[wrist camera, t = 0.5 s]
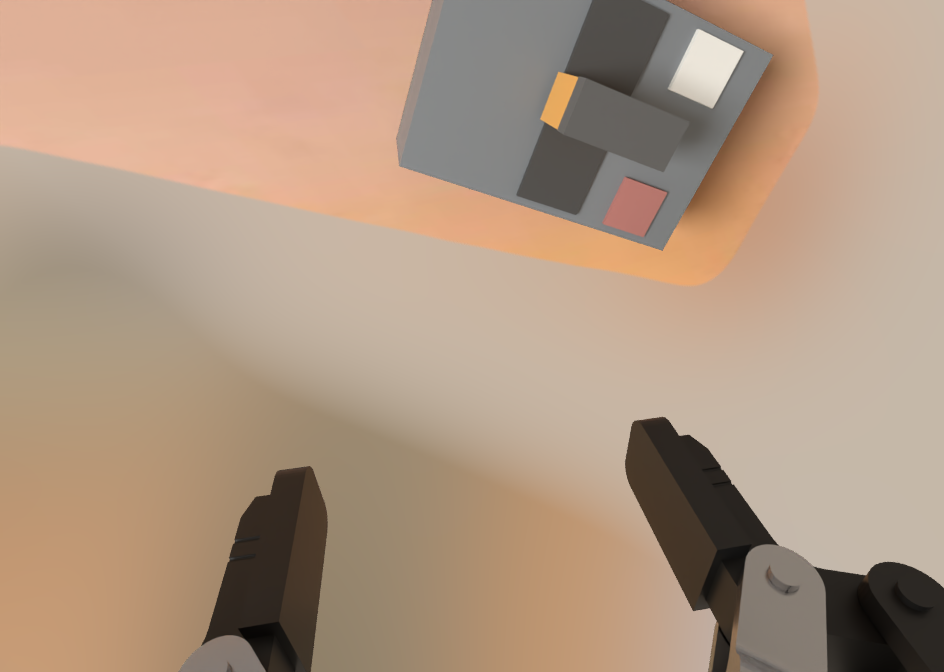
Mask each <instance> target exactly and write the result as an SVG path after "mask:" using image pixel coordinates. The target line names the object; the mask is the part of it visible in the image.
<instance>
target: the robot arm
mask: <svg viewBox="0 0 944 672" xmlns="http://www.w3.org/2000/svg"><path fill="white" fill-rule="evenodd" d="M625 468H626V475H627V479H628V482H629V484H630V486H631V489H632V490H633V492H634V494H635V496H636V498H637V500H638V502H639V504H640V506H641V508H642V510H643V512H644V514H645V516H646V518H647V520H648V522H649V524H650V526H651V528H652V530H653V532H654V534H655V536H656V538H657V540H658V542H659V544H660V546H661V548H662V550H663V552H664V554H665V556H666V558H667V560H668V562H669V564H670V566H671V568H672V570H673V572H674V574H675V576H676V578H677V580H678V582H679V584H680V586H681V588H682V590H683V592H684V594H685V596H686V598H687V600H688V602H689V604H690V606H691V608H692V610H693V611H696V610H702V609H707V608H710V609H711V611H712V613H713V615H714V616H715V618H716V620H717V622H716V625H715V629H714V636H713V643H712V649H711V656H710V663H709V669H708V672H944V588H943V587H942V586H941V585H940V584H939V583H937V582H936V581H935V580H934V579H932V578H931V577H929V576H928V575H926V574H924V573H923V572H921V571H919V570H917V569H915V568H913V567H910V566H907V565H904V564H900V563H895V562H883V563H879V564H876V565H874V566H873V567H872V568H871V569H870V571H869V572H868V574H867V575H866V576H865V575H859V574H852V573H846V572H838V571H832V570H826V569H821V568H817V567H813V566H812V565H811V564H810V563H809V562H808V561H807V560H806V559H804V558H803V557H802V556H800V555H798V554H797V553H795V552H794V551H792V550H789V549H787V548H785V547H781V546H779V545H778V544H777V543H776V542H775V541H774V540H773V538H772V537H771V536H770V534H769V533H768V531H767V530H766V529H765V527H764V526H763V524H762V523H761V522H760V520H759V519H758V518H757V516H756V515H755V513H754V512H753V511H752V509H751V508H750V507H749V505H748V504H747V502H746V501H745V500H744V498H743V497H742V495H741V494H740V493H739V491H738V490H737V488H736V487H735V486H734V485H732V484H731V480H730V479H729V478H728V476H727V475H726V473H725V472H724V470H721V466H720V465H719V464H718V462H717V461H716V459H715V458H714V457H713V455H712V454H711V453H710V451H709V450H708V449H707V448H706V447H705V446H703V445H702V444H701V443H699V442H698V441H697V440H695V439H694V438H693V437H691V436H690V435H684V436H679V435H678V433H677V432H676V430H675V429H674V428H673V426H672V425H671V423H670V422H669V420H667V419H666V418H665V417H659V418H652V419H645V420H638V421H634V422H633V424H632V427H631V432H630V438H629V443H628V450H627V455H626V460H625ZM327 523H328V522H327V511H326V507H325V503H324V500H323V497H322V494H321V491H320V489H319V486H318V483H317V480H316V477H315V474H314V471H313V469H312V468H311V467H310V466H308V467H301V468H293V469H286V470H279V471H277V473H276V475H275V478H274V482H273V486H272V490H271V494H270V495H267V496H259V497H256V498H255V499H254V500H253V501H252V503H251V504H250V506H249V507H248V508H247V510H246V511H245V513H244V514H243V515H242V517H241V519H240V522H239V526H238V529H237V533H236V536H235V544H233V546H232V550H231V553H230V557H229V558H230V561H229V562H228V564H227V567H226V571H225V574H224V577H223V581H222V584H221V588H220V591H219V595H218V598H217V602H216V605H215V609H214V612H213V615H212V619H211V622H210V626H209V629H208V632H207V635H206V637H205V640H204V642H203V643H202V645H201V647H199V648H198V649H197V650H196V651H195V652H194V653H192V655H191V656H190V657H189V658H188V659H187V660H186V661H185V663H184V664H183V665H182V667H181V669H180V670H179V672H311V664H312V656H313V648H314V647H313V646H314V639H315V630H316V622H317V614H318V605H319V597H320V588H321V580H322V571H323V563H324V554H325V546H326V538H327Z"/></svg>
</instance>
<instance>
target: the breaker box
mask: <svg viewBox="0 0 944 672" xmlns="http://www.w3.org/2000/svg"><path fill="white" fill-rule="evenodd" d="M772 57H773V55H772V54H770V53H768V52H766V51H764V50H763V49H761V48H759V47H757V46H755V45H753V44H751V43H749V42H747V41H745V40H743V39H741V38H739V37H737V36H735V35H733V34H731V33H729V32H727V31H725V30H723V29H721V28H719V27H717V26H715V25H713V24H711V23H709V22H708V21H706V20H704V19H702V18H700V17H698V16H696V15H694V14H692V13H690V12H688V11H686V10H684V9H682V8H680V7H678V6H676V5H674V4H672V3H670V2H668V1H666V0H432V3H431V7H430V11H429V15H428V19H427V23H426V27H425V30H424V34H423V38H422V42H421V46H420V50H419V54H418V57H417V61H416V65H415V69H414V73H413V77H412V81H411V84H410V88H409V92H408V96H407V100H406V104H405V108H404V111H403V115H402V119H401V123H400V127H399V131H398V134H397V138H396V139H397V149H398V158H399V166H400V167H404V168H407V169H410V170H413V171H416V172H419V173H422V174H425V175H429V176H432V177H435V178H438V179H441V180H444V181H447V182H450V183H453V184H457V185H460V186H463V187H466V188H469V189H472V190H475V191H478V192H482V193H485V194H488V195H491V196H494V197H497V198H500V199H503V200H506V201H510V202H513V203H516V204H519V205H522V206H525V207H528V208H531V209H535V210H538V211H541V212H544V213H547V214H550V215H553V216H556V217H559V218H563V219H566V220H569V221H572V222H575V223H578V224H581V225H584V226H587V227H591V228H594V229H597V230H600V231H603V232H606V233H609V234H612V235H616V236H619V237H622V238H625V239H628V240H631V241H634V242H637V243H640V244H644V245H647V246H650V247H653V248H656V249H659V250H662V251H663V249H664V247H665V245H666V243H667V242H668V240H669V238H670V236H671V235H672V233H673V231H674V229H675V228H676V226H677V224H678V222H679V221H680V219H681V217H682V215H683V213H684V212H685V210H686V208H687V206H688V205H689V203H690V201H691V199H692V198H693V196H694V194H695V192H696V191H697V189H698V187H699V185H700V184H701V182H702V180H703V178H704V176H705V175H706V173H707V171H708V169H709V168H710V166H711V164H712V162H713V161H714V159H715V157H716V155H717V154H718V152H719V150H720V148H721V146H722V145H723V143H724V141H725V139H726V138H727V136H728V134H729V132H730V131H731V129H732V127H733V125H734V124H735V122H736V120H737V118H738V117H739V115H740V113H741V111H742V109H743V108H744V106H745V104H746V102H747V101H748V99H749V97H750V95H751V94H752V92H753V90H754V88H755V87H756V85H757V83H758V81H759V79H760V78H761V76H762V74H763V72H764V71H765V69H766V67H767V65H768V64H769V62H770V60H771V58H772ZM558 72H561V73H565V74H569V75H573V76H576V77H579V76H580V77H584V78H587V79H590V80H592V81H594V82H597V83H599V84H601V85H604V86H606V87H608V88H611V89H613V90H615V91H618V92H620V93H623V94H625V95H627V96H630V97H632V98H634V99H637V100H639V101H641V102H644V103H646V104H648V105H651V106H653V107H655V108H658V109H660V110H662V111H665V112H667V113H670V114H672V115H674V116H677V117H679V118H681V119H684V120H686V121H688V122H690V123H689V125H688V127H687V129H686V131H685V133H684V135H683V137H682V139H681V141H680V142H679V144H678V146H677V148H676V150H675V152H674V154H673V156H672V158H671V160H670V161H669V163H668V165H667V167H666V169H665V171H664V172H661V171H658V170H656V169H653V168H650V167H648V166H645V165H642V164H640V163H637V162H635V161H632V160H629V159H627V158H624V157H621V156H619V155H616V154H613V153H611V152H608V151H606V150H603V149H600V148H598V147H595V146H592V145H590V144H587V143H584V142H582V141H579V140H577V139H574V138H571V137H569V136H566V135H563V134H562V133H560V132H558V131H557V129H555V128H554V127H552V126H550V125H549V124H547V123H545V122H544V121H542V120H540V118H541V116H542V113H543V110H544V108H545V105H546V103H547V100H548V97H549V95H550V92H551V90H552V87H553V84H554V82H555V79H556V77H557V74H558Z"/></svg>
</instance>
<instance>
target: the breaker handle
mask: <svg viewBox="0 0 944 672" xmlns="http://www.w3.org/2000/svg"><path fill="white" fill-rule="evenodd" d="M540 120H542V121H544V122H545V123H547V124H549V125H550V126H552V127H554V128H555V129H557V131H558V132H560V133H562V134H563V135H566V136H569V137H571V138H574V139H577V140H579V141H582V142H584V143H587V144H590V145H592V146H595V147H598V148H600V149H603V150H606V151H608V152H611V153H613V154H616V155H619V156H621V157H624V158H627V159H629V160H632V161H635V162H637V163H640V164H642V165H645V166H648V167H650V168H653V169H656V170H658V171H661V172H664V171H665V169H666V167H667V165H668V163H669V161H670V160H671V158H672V156H673V154H674V152H675V150H676V148H677V146H678V144H679V142H680V141H681V139H682V137H683V135H684V133H685V131H686V129H687V127H688V125H689V123H690V122H688V121H686V120H684V119H681V118H679V117H677V116H674V115H672V114H670V113H667V112H665V111H662V110H660V109H658V108H655V107H653V106H651V105H648V104H646V103H644V102H641V101H639V100H637V99H634V98H632V97H630V96H627V95H625V94H623V93H620V92H618V91H615V90H613V89H611V88H608V87H606V86H604V85H601V84H599V83H597V82H594V81H592V80H590V79H587V78H584V77H580V76H579V77H576V76H573V75H569V74H565V73H561V72H558V74H557V77H556V79H555V82H554V84H553V87H552V90H551V92H550V95H549V97H548V100H547V103H546V105H545V108H544V110H543V113H542V116H541V118H540Z"/></svg>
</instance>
